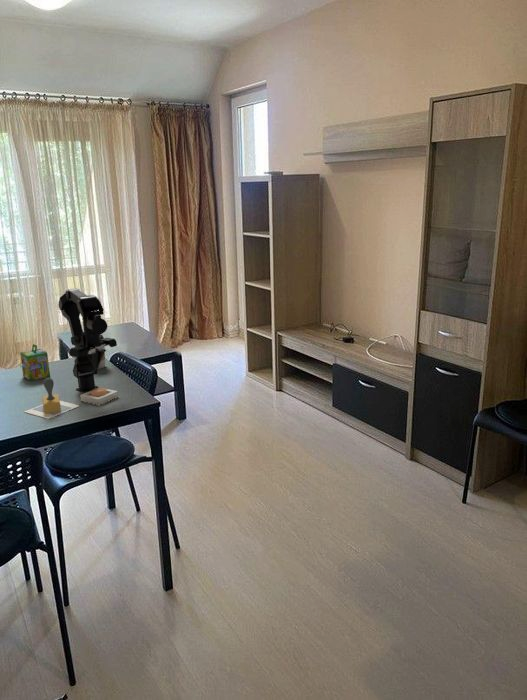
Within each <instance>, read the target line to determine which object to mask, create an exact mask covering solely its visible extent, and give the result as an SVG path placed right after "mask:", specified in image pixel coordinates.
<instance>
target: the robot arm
mask: <svg viewBox="0 0 527 700" xmlns="http://www.w3.org/2000/svg"><path fill="white" fill-rule="evenodd" d="M58 308H59V309H58V310H59V311H60V313H61V315H62V317H64V318H65V319H66V320H67V321H68V325H69V329H70V333H71V337H70V343H71V345H72V346H73V347H70V349H69V350H68V351H69V352H68V353H69V356H70V357H75V358H74V364H73V368H72V373H73V376H74V377H75V378H76V379H77V384H78V387H77V388H75V390H76V391H79V392H84V393H87V392H90V391H91V390H93V389H96V388H99V386H97V385H96V384H95V383H96V382H95V381H96V380H95V375H98V370H99V369H98V367H99V364H100V361H101V359H102V357H103V354H104V352H105V353H106V352H107V349H105V350H104V348H105V347H106V346H109V347H110V348H114V347H117V346H118V344H117V342H118V341H117V340H116V339H115V338H111V337H105V338H104V339H100V334H101V335H103V334H104V333H105V332H106V331H107V330H108V322H107V321H106V320H105V319H103V318H102V316H101V315H104V308H103V305H102V303H101V301H100V299H99V298H98V296H96V295H94V294H93V295H90V294H89V295H88V294H86V293H84V292H83V291H81V290H80V288H75V287H74V288H69V289H66V290H65V292H64V293H63V294H62V295H61V296H60V297H59V299H58ZM80 316H81V319H82V320H81V319H80ZM81 321H82V323H81ZM103 347H104V348H103Z"/></svg>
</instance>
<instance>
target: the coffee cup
mask: <svg viewBox="0 0 527 700" xmlns="http://www.w3.org/2000/svg"><path fill="white" fill-rule="evenodd" d="M100 339H104V336H103V334H100ZM103 348H104V350H106V349H105V346H104V347H103ZM105 367H106V351H105V352H104V354H103V357H102V359H101V361H100V364H99V367H98V370H101V369H104V368H105Z"/></svg>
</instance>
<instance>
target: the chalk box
mask: <svg viewBox="0 0 527 700" xmlns="http://www.w3.org/2000/svg"><path fill="white" fill-rule="evenodd" d="M19 353H20V362H21V363H20V364H21V370H22V377H24V379H26V380H28V381H30V382H33V381H36V380H41V379H46V378H51V373H50V363H49V355H48V352H47V351H45V350H44V349H41V348H38V345H37V344H34V343H32V347H31V350H26V351H20V352H19Z"/></svg>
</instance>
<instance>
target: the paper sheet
mask: <svg viewBox="0 0 527 700" xmlns="http://www.w3.org/2000/svg"><path fill="white" fill-rule="evenodd" d="M79 407H80V405H78V404H75V403H71V402H66V401H63V400H60V408H61V411H60V412H54V413H48V414H45V413H44V409H43V404H39V405H38V406H35V407H33V408H29V409H28V410H25V411H23V413H24V414H30V415H32V416H36V417H39V418H42V419H46V420H50V419H53V418H55V417H57V415H58V416H60V415H63V414H64V413H66V412H69V410H70V411H72V410H75V409H77V408H79ZM74 408H75V409H74Z"/></svg>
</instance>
